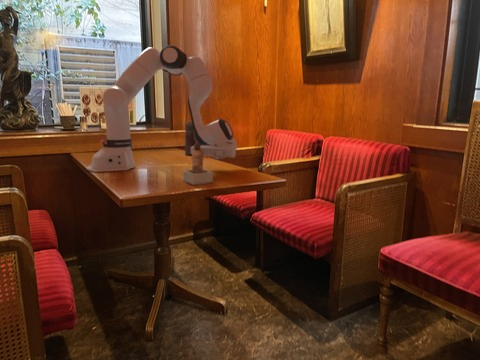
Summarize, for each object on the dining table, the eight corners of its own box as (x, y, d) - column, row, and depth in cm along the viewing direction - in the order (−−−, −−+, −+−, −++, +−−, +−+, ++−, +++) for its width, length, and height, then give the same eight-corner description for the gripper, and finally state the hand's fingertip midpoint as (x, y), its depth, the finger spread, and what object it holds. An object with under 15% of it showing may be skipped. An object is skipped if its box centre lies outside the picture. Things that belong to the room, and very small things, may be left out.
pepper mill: (195, 182, 151) (195, 143, 148) (190, 180, 155) (190, 142, 151) (205, 180, 154) (204, 142, 150) (199, 178, 157) (199, 141, 154)
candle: (193, 153, 233) (193, 121, 229) (199, 154, 228) (199, 122, 223) (182, 154, 229) (182, 121, 224) (188, 155, 223) (188, 122, 219)
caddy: (193, 185, 148) (193, 174, 147) (183, 181, 156) (183, 170, 155) (212, 182, 153) (212, 172, 152) (201, 178, 161) (201, 168, 160)
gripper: (198, 141, 175) (184, 144, 162) (238, 143, 168) (227, 147, 155) (198, 154, 176) (184, 158, 163) (238, 157, 169) (227, 162, 157)
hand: (205, 153), depth 159 cm, fingers open, 8 cm apart
